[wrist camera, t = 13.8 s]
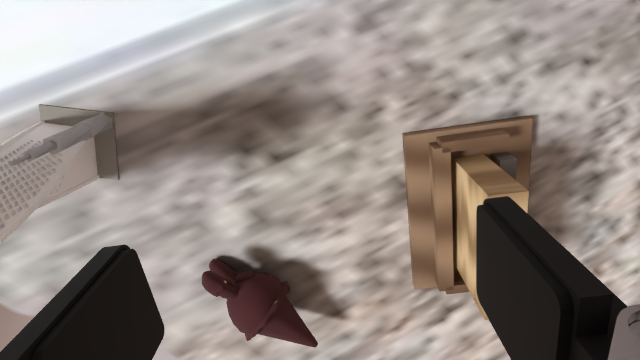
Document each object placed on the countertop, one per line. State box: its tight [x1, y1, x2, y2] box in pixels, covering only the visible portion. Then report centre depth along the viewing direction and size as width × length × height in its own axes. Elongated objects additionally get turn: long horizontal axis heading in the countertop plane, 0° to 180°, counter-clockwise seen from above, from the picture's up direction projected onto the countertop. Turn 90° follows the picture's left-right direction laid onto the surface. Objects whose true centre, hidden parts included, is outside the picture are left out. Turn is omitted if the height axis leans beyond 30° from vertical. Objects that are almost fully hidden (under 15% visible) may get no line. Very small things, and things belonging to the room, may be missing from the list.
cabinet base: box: [402, 116, 533, 294], centre depth 40 cm, size 18×12×3 cm, turn 8°
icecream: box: [202, 259, 318, 347], centre depth 42 cm, size 7×7×15 cm
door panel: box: [452, 154, 529, 320], centre depth 36 cm, size 12×4×9 cm, turn 8°
